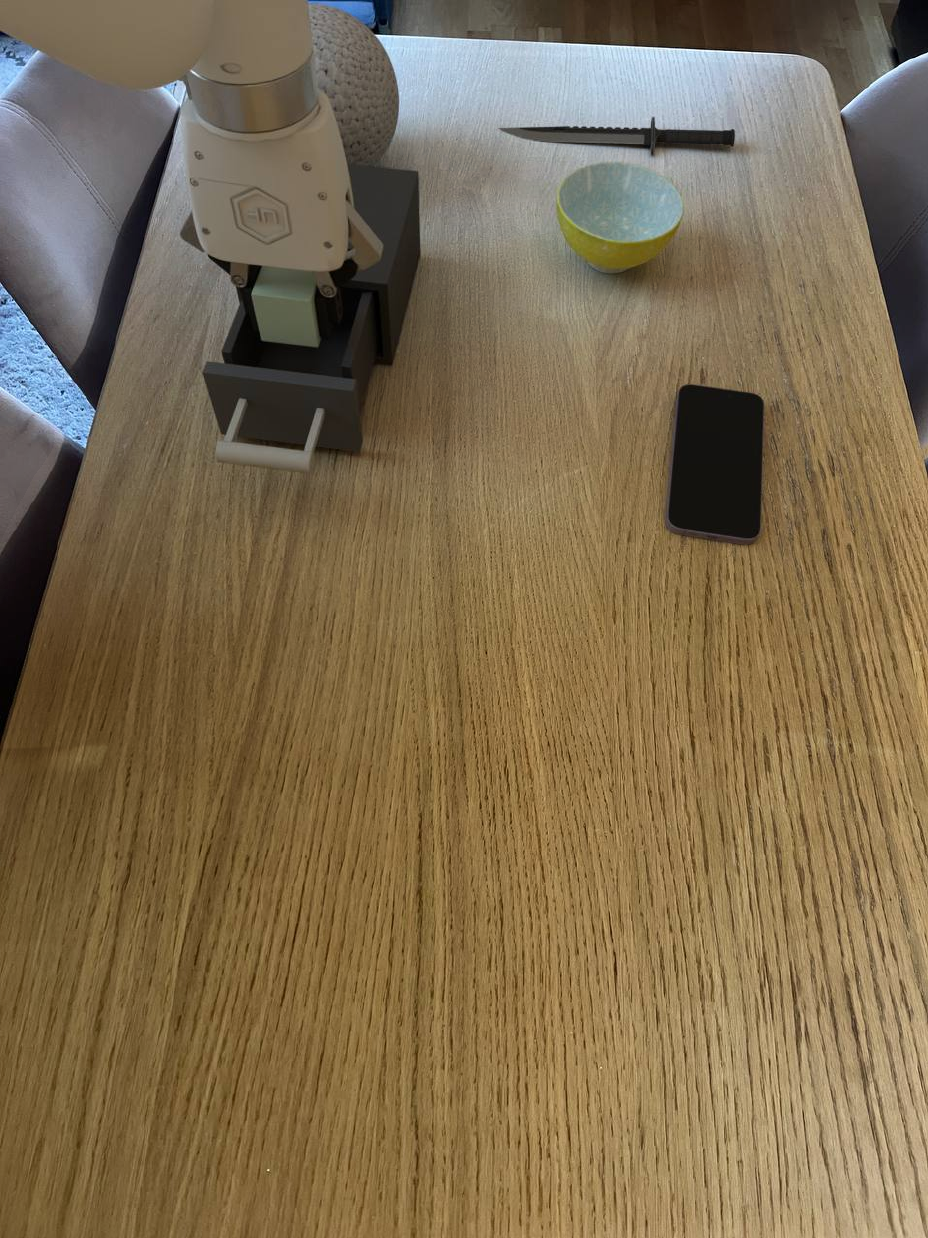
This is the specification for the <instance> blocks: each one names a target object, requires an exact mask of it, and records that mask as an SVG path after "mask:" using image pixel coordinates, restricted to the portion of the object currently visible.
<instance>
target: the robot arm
mask: <svg viewBox="0 0 928 1238" xmlns="http://www.w3.org/2000/svg"><path fill="white" fill-rule="evenodd" d="M308 4H309V0H0V32H2V33H4V34H5V35H7V36H9V37H12V38H13V39H15V40H17V41H19V42H21V43H23V44H25V45H26V46H29V47H31V48H33V49H35V50H37V51H38V52H40V53H42V54H44V55H46V56H48V57H50V58H51V59H54V60H55V61H58V62H59V63H61V64H63V65H65V66H67V67H69V68H71V69H73V70H75V71H77V72H79V73H81V74H83V75H85V76H87V77H89V78H91V79H93V80H95V81H97V82H101V83H103V84H106V85H109V86H113V87H117V88H122V89H126V90H140V91H141V90H143V91H146V90H153V89H158V88H159V89H160V88H162V87H166V86H167V85H170V84H173V83H175V82H177V81H178V82H183V84H184V86H185V91H186V94H187V98H186V99H185V100H184V102H183V103H182V105H181V107H180V124H181V125H180V126H181V141H182V151H183V161H184V168H185V169H184V170H185V176H186V177H185V178H186V185H187V189H188V190H187V191H188V196H189V202H190V203H189V204H190V208H191V209H190V212H189V213H188V216H187V217H186V219H185V220H184V223H183V225H182V227H181V229H180V232H179V237H180V238H181V240H183V241H184V242H186V243H187V244H189V245H190V246H192V247H193V248H195V249H197V250H198V251H199V252H201V253H202V254H203V253H206V255H207V257H208V258H209V260H210V261H212V262H213V263H214V264H216V265H217V267H219V268H221V270H223V271H224V272H226V274H228V275H229V279H230V282H231V284H232V285H233V286H235V287H236V286H237V287H239V288H240V292H241V297H242V301H243V305H244V309H245V312H246V313H248V314H250V316H251V321H252V325H253V329H254V331H258V332H260V331H259V326H258V322H257V317H256V313H255V309H254V304H253V300H252V295H251V294H252V291H253V288H254V286H255V283H256V280H257V278H258V275H259V273H260V270H261V267H262V266H270V267H279V268H287V269H296V270H306V271H312V274H313V276H314V278H315V281H316V283H317V287H318V288H317V291H316V294H315V298H314V302H315V309H316V315H317V322H318V328H319V335H320V337H321V338H322V339H326V340H329V339H330V336H331V333H332V329H333V326H334V324H340V322H341V319H342V313H343V307H342V299H341V290H340V288H341V287H342V286H343V285H344V284H346V283H347V282H348V281H349V280H351V279H352V278H353V277H354V276H355V275H356V273H357V272H359V271H361V270H362V271H363V270H365V269H367V268H368V267H370V266H372V265H374V264H376V263H378V262H379V261H380V259H381V256H382V252H383V249H384V245H383V243H382V242H381V241H380V240H379V238H378V237H377V236H376V235H375V234H374V232H373V231H372V230H371V229H370V227H369V226H368V225H367V224H366V222H365V221H364V220H363V219H362V218H361V216H360V215H359V214H358V213H357V211H356V210H355V209H354V202H353V195H352V189H351V182H350V177H349V172H348V166H347V161H346V156H345V152H344V148H343V144H342V140H341V136H340V132H339V129H338V125H337V122H336V119H335V116H334V113H333V110H332V107H331V104H330V101H329V99H328V97H327V95H326V94H325V93H323V92H320V91H318V83H317V74H316V66H315V57H314V49H313V42H312V33H311V24H310V16H309V7H308ZM348 241H349V242H350V243H351V244H352V245H353V247H354V249H351V248H350V249H348Z"/></svg>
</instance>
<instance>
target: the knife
mask: <svg viewBox="0 0 928 1238" xmlns="http://www.w3.org/2000/svg"><path fill="white" fill-rule="evenodd" d="M497 129H498V130H499V131H501V132H504V133H506V134H508V135H511V136H514V137H516V138H519V139H522V140H529V141H534V142H535V141H537V142H549V143H550V142H552V143H586V144H587V143H588V144H591V143H592V144H631V145H643V146H649V150H650V151H649V152H650V156H654V154H655V145H657V143H658V144H659V143H663V144H681V145H682V144H683V145H720V146H729V147H731V148H733V147H734V146H735V141H736V130H735V128H731V129H724V130H717V129H716V130H707V129H668V128H667V129H658V128H657V127H656V116H651V120H650V127H641V128H638V127H632V128H630V127H629V126H627V127H626V126H624V127H623V128H621V127H619V126H615V127H614V128H613V127H612V126H607V127H604V126H598V127H595V126H590V127H588V126H585V125H584V126H581V127H579V126H578V125H573V126H572V127H571V126H570V125H564V126H563V125H561V126H521V127H519V126H518V127H497Z"/></svg>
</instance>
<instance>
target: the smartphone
mask: <svg viewBox="0 0 928 1238" xmlns="http://www.w3.org/2000/svg"><path fill="white" fill-rule="evenodd" d="M764 401H765V400H764V398H763V397H762V396H761V395H759V394H757V393H755V392H750V391H744V390H736V389H729V388H721V387H715V386H707V385H700V384H694V383H688V384H683V385H681V386H680V387H679V389H678V390H677V393H676V397H675V407H674V417H673V429H672V439H671V440H672V441H671V451H670V463H669V464H670V465H669V474H668V485H667V497H666V508H665V517H664V518H665V519H664V521H665V526H666V528H667V529H668V531H670V532H671V533H673V534H676V535H679V536H680V535H681V536H684V537H685V536H686V537H692V538H698V539H705V540H711V541H718V542H723V543H724V542H725V543H730V544H738V545H752V544H754V543H756V541H757V540H758V538H759V537H760V535H761V532H762V508H763V507H762V506H763V475H764V474H763V473H764V470H763V469H764V438H765V408H766V407H765V402H764Z"/></svg>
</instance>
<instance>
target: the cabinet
mask: <svg viewBox="0 0 928 1238" xmlns="http://www.w3.org/2000/svg"><path fill="white" fill-rule="evenodd" d="M347 166H348V172H349V177H350V182H351V189H352V195H353V202H354V209H355V210H356V211H357V213H358V214H359V215H360V216H361V218H362V219H363V220H364V221H365V222H366V224H367V225H368V226H369V227H370V229H371V230H372V231H373V232H374V234H375V235H376V236H377V237H378V238H379V240H380V241H381V242H382V243H383V245H384V249H383V252H382V256H381V259H380V261H379V262H378V263H376V264H374V265H372V266H370V267H368V268H367V269H365V270H363V271H362V270H361V271H359V272H357V273H356V275H355V276H354V277H353V278H352V279H351V280H349V281H348V282H347V283H346V284H344V285H343V286H342V287H348V288H356V289H365V290H373V291H378V292H379V306H380V320H381V334H382V336H381V340H380V343H379V347H378V351H377V354H376V358H375V362H374V365H381V366H382V365H383V366H391V367H392V366H394V362H395V359H396V358H395V357H396V354H397V351H398V346H399V342H400V338H401V334H402V330H403V326H404V323H405V319H406V315H407V310H408V306H409V302H410V299H411V295H412V290H413V287H414V283H415V278H416V275H417V272H418V267H419V263H420V260H421V255H422V254H421V222H420V221H421V220H420V219H421V218H420V217H421V216H420V215H421V214H420V173H419V171H418V170H411V169H400V168H391V167H384V166H383V167H382V166H375V167H374V166H365V165H356V164H347ZM350 248H351V249H354V247H353V245H352V244H351V243H350V242H349V241H348V249H350ZM235 289H236V295H237V298H238V302H239V304H240V302H241V300H242V297H241V292H240V288H239V287H237V286H235Z"/></svg>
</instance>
